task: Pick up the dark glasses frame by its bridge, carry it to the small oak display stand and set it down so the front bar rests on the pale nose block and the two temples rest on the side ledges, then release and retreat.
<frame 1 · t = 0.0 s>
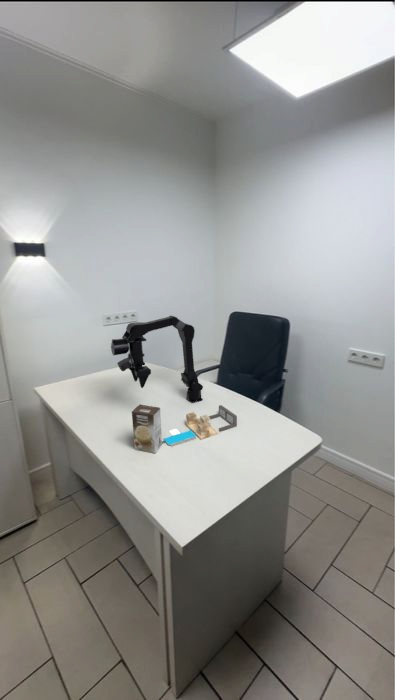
hand: (138, 384, 141), 15 cm above the table, fingers open, 9 cm apart
phone stand: (178, 438, 126), on the table
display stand: (200, 429, 130), on the table
coffee box: (148, 447, 119), on the table
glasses: (227, 420, 136), on the table
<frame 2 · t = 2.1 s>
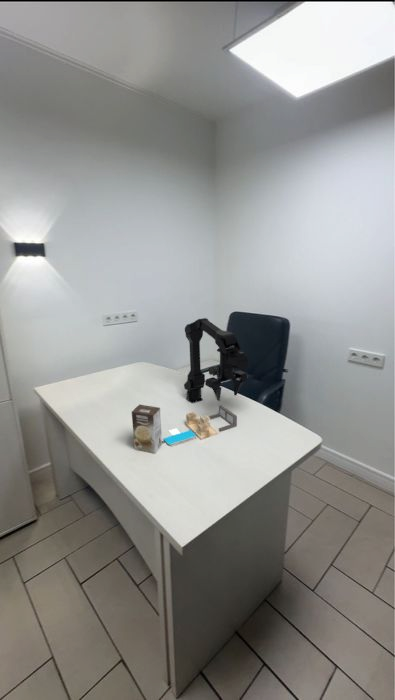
hand: (226, 397, 133), 11 cm above the table, fingers open, 9 cm apart
nothing on the table moved.
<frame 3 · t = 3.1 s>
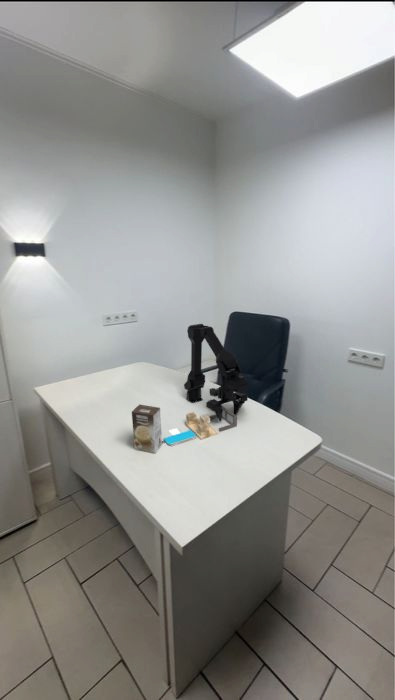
hand: (227, 418, 136), 1 cm above the table, fingers open, 8 cm apart
nothing on the table moved.
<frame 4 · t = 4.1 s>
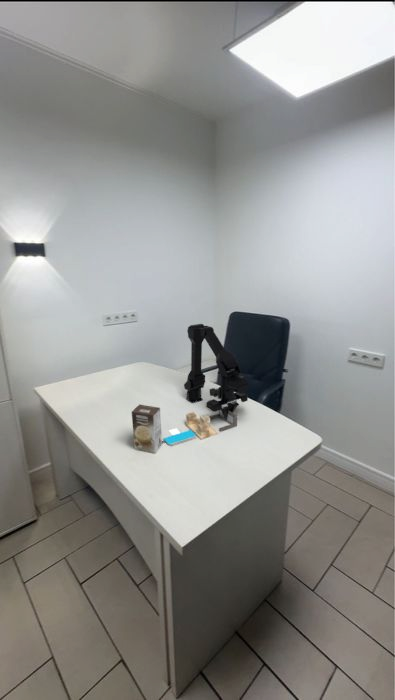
hand: (227, 418, 136), 1 cm above the table, fingers closed on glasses
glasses: (227, 420, 136), on the table, touching gripper
everything else where it was.
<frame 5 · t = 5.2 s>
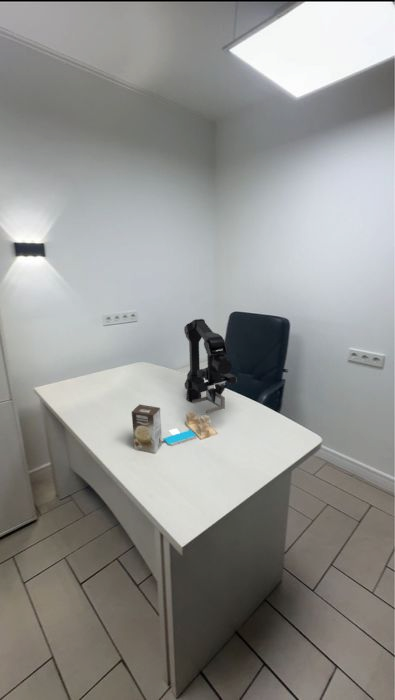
hand: (215, 401, 130), 11 cm above the table, fingers closed on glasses
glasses: (215, 403, 131), point 10 cm above the table, touching gripper
everything else where it was.
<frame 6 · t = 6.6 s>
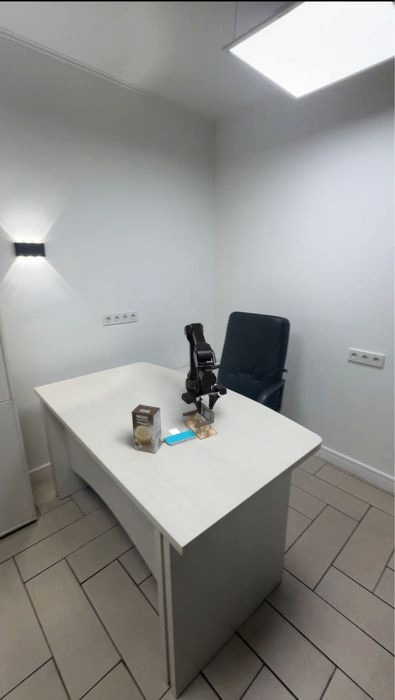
hand: (204, 412, 129), 7 cm above the table, fingers open, 5 cm apart
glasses: (205, 417, 130), point 5 cm above the table, touching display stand
everything else where it was.
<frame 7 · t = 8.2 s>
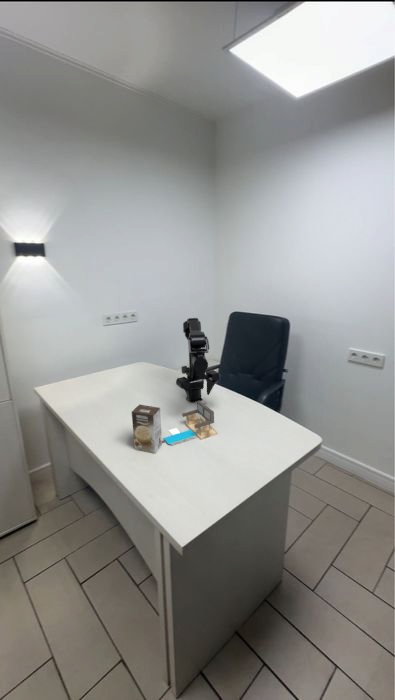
hand: (198, 397, 134), 11 cm above the table, fingers open, 9 cm apart
nothing on the table moved.
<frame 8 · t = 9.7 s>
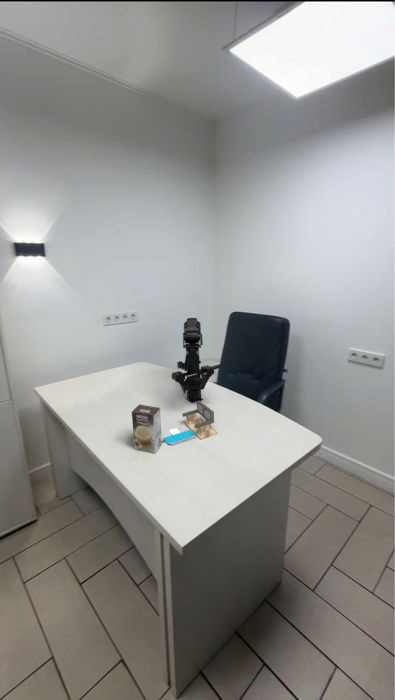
hand: (193, 391, 139), 12 cm above the table, fingers open, 9 cm apart
nothing on the table moved.
at the end: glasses 0.0 cm from the target spot on the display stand, point 5.0 cm above the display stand's base; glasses tilted 0°; the gripper is holding nothing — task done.
